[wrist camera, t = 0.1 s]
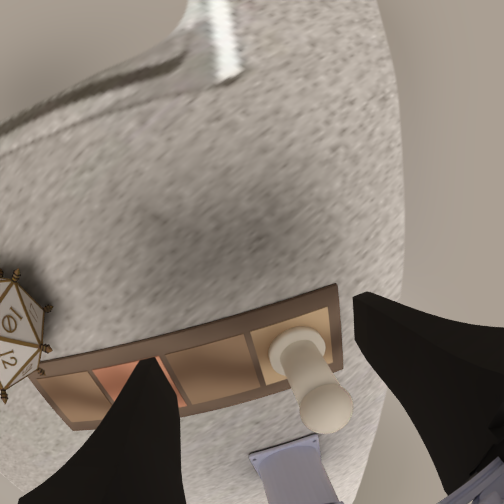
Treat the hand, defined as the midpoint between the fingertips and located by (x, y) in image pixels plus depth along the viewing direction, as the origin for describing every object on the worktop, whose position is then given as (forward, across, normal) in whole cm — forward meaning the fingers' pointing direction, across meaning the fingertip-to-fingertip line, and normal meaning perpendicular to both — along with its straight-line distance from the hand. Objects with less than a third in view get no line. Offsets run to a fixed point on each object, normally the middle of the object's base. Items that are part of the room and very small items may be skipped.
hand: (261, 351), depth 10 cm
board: (+10, +7, +9) cm, 15 cm away
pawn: (+10, -3, +9) cm, 14 cm away
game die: (+10, +16, -1) cm, 19 cm away
